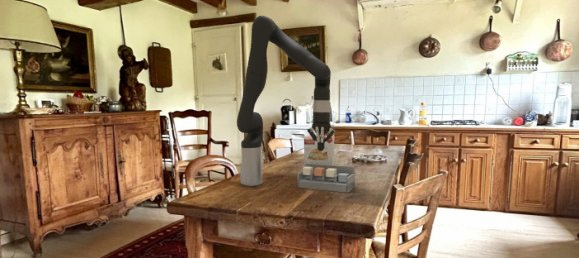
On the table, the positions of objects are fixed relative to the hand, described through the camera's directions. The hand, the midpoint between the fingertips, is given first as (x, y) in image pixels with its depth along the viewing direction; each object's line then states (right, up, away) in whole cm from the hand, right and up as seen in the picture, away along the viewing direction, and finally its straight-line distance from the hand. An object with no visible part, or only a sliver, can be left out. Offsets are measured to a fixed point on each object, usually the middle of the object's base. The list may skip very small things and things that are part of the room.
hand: (321, 150), depth 143 cm
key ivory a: (-5, -11, +4) cm, 13 cm away
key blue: (+9, -13, -4) cm, 16 cm away
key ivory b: (+4, -11, -1) cm, 12 cm away
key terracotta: (0, -11, +1) cm, 11 cm away
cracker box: (+1, -15, +17) cm, 23 cm away
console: (+2, -16, +1) cm, 16 cm away
